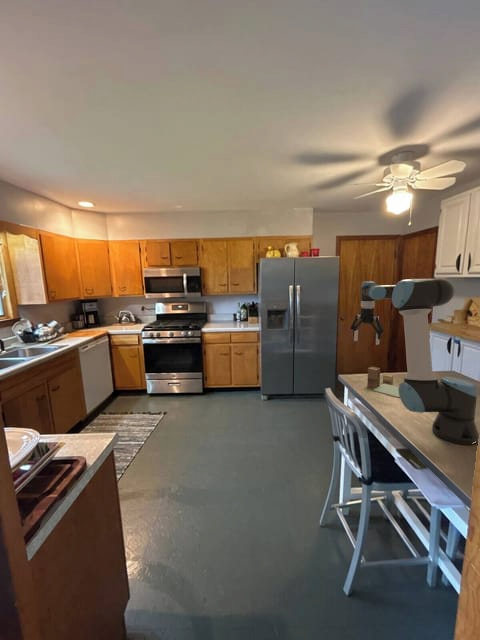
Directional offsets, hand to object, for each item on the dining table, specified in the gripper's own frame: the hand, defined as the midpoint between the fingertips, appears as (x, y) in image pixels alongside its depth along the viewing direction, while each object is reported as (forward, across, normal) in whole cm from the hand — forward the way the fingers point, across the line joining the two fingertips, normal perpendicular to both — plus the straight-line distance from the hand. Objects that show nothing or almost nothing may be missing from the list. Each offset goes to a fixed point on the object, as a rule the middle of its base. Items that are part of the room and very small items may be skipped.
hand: (366, 342), depth 171 cm
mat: (+25, -16, +2) cm, 30 cm away
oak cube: (+26, -9, -10) cm, 29 cm away
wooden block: (+25, -6, +2) cm, 26 cm away
